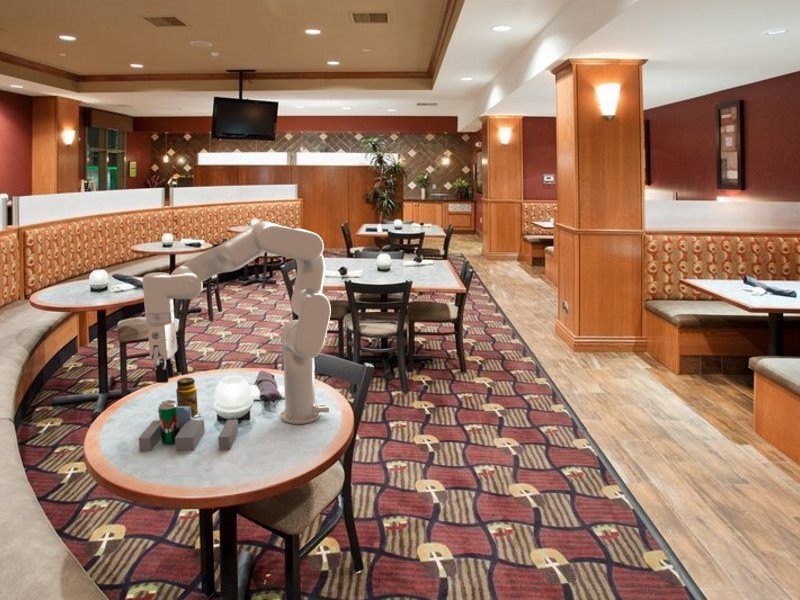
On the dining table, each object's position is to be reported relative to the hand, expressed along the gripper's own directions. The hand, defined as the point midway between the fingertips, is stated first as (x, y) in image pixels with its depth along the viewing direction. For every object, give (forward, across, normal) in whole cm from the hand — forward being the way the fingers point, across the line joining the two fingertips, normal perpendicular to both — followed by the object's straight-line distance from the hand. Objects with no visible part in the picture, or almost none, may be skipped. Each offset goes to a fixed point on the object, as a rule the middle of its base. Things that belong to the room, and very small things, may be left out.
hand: (165, 379), depth 176 cm
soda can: (+19, 0, 0) cm, 19 cm away
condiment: (+20, +19, +1) cm, 27 cm away
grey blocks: (+19, 0, -6) cm, 20 cm away
